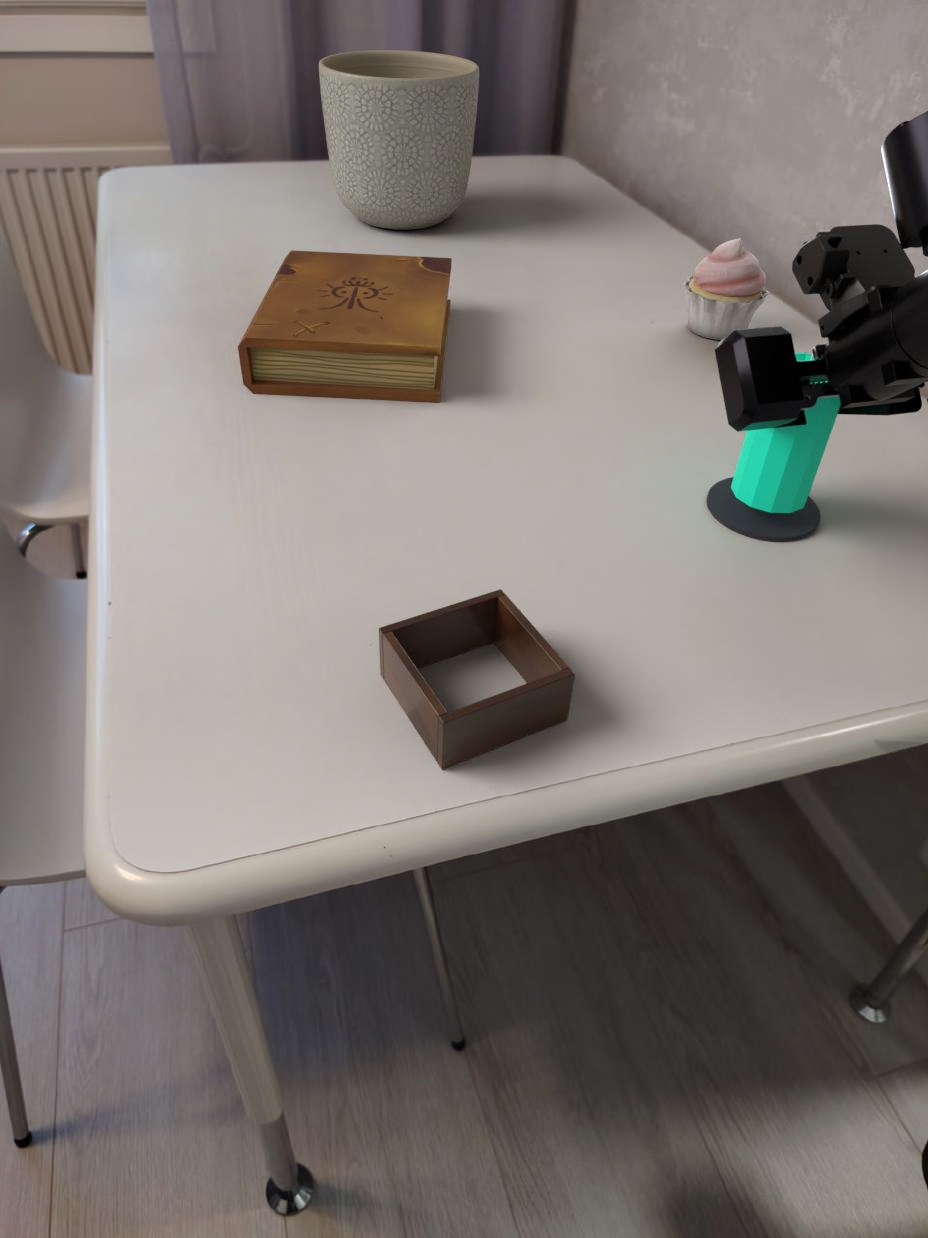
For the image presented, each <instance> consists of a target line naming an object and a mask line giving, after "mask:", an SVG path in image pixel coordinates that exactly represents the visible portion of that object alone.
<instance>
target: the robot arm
mask: <svg viewBox="0 0 928 1238" xmlns="http://www.w3.org/2000/svg"><path fill="white" fill-rule="evenodd" d="M880 150H881V156H882V161H883V165H884V166H883V167H884V171H885V176H886V181H887V185H888V191H889V196H890V200H891V205H892V210H893V215H894V216H893V217H894V220H895V225H896V230H897V235H898V237H897V236H896V233H895V232H894V231H893V230H892V229H891V228H889V227H888V226H886V225H884V224H879V223H878V224H877V223H875V224H873V223H872V224H856V225H840V226H839V225H838V226H834V227H832V228H830V230H829V231H818V232H817V233H816V234H815V236H814V238H812V239H810V240H807V241H804V242H803V243H802V245H801V247H800V248H799V251H798V252H797V253H796V255H795V257H794V258H793V260H792V264H791V272H792V274H793V276H794V277H795V280H796V281H797V284H798V285H799V287H800V290H801V292H802V293H803V294H804V295H819V298H820V299H821V301H822V302H823V305H824V307H825V308H826V309H827V311H829V312H827V313H826V314H824V315H823V316H821V317H820V318H818V319H817V323H818V328H819V334H820V337H821V338H822V339H827V340H828V343H822V344H816V345H814V347H812V349H811V351H812V354H813V357H814V359H815V360H812V361H797V359H796V356H795V353H796V351H795V347H794V342H793V336H792V333H791V332H790V331H788V330H787V329H786V328H784V327H783V326H782V325H776V326H775V325H774V326H763V327H762V326H761V327H753V328H747V329H738V330H734V331H733V332H731V333H730V334H729V335H728V336H726V337H725V338H724V339H723V340H719V343H718V344H717V346H716V347H715V349H714V353H715V354H714V355H715V360H716V365H717V370H718V376H719V381H720V386H721V387H720V388H721V392H722V398H723V403H724V407H725V408H724V409H725V413H726V418H727V424H728V425H729V426H730V428H732V429H734V430H735V431H736V432H737V433H738V432H739V433H740V432H747V431H749V430H758V429H766V428H781V427H790V426H799V425H806V424H807V422H806V417H805V412H804V410H808V409H811V408H812V407H814V406H815V404H816V402H817V399H818V398H827V397H836V396H839V398H840V403H841V406H840V408H839V411H838V414H837V415H850V416H885V417H886V416H887V417H888V416H893V415H895V416H896V415H904V414H912V413H917V412H919V411H921V409H922V406H923V401H922V395H921V389H922V388H925V386H926V384H925V383H928V269H927V270H925V271H923V272H922V273H921V274H919V275H917V276H915V274H916V269H915V267H914V265H913V263H912V261H911V260H910V258H909V256H908V255H907V252H906V251H905V250H907V249H910V248H912V249H914V248H915V249H919V248H921V252H922V255H923V256H924V257H926V258H928V110H927V111H924V112H923V113H921V114H919V115H917V116H915V117H914V118H912V119H911V120H905V121H902V122H901V123H899V124H898V125H897V126H895V127H894V128H893V129H892V130H891V131H890V132H889V133H888V134H887V136H886V137H885V138H884V140H883V142H882V144H881V149H880ZM825 381H828V382H825ZM815 382H818V383H816V384H815ZM820 382H822V383H820ZM811 383H812V384H811ZM926 402H927V403H928V398H927V399H926Z"/></svg>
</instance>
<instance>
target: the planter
mask: <svg viewBox="0 0 928 1238" xmlns="http://www.w3.org/2000/svg"><path fill="white" fill-rule="evenodd" d="M318 75H319V76H318V77H319V78H318V79H319V88H320V98H321V99H320V101H321V107H322V117H323V123H324V124H323V125H324V131H325V139H326V147H327V148H326V149H327V153H328V161H329V168H330V172H331V176H332V181H333V186H334V189H335V192H336V195H337V196H338V199H339V200H340V202H341V203H342V205H343V206H344V207H345V208H346V209H347V210H348V211H349V212H350V213H351V214H352V216H354V217H356V218H357V219H358V220H360V221H361V222H363V223H365V224H368V225H369V226H373V227H376V228H381V229H389V230H407V231H408V230H419V229H425V228H430V227H433V226H436V225H438V224H440V223H442V222H444V221H445V220H447V219H448V218H449V217H450V216H451V215H452V214H454V213H455V211H456V210H457V209H458V208H459V207H460V205H461V204H462V202H463V200H464V197H465V195H466V193H467V190H468V186H469V179H470V174H471V169H472V160H473V151H474V143H475V142H474V141H475V133H476V126H477V125H476V123H477V114H478V103H479V102H478V101H479V88H480V87H479V86H480V66H479V65H478V64H477V63H476V62H474V61H472V60H470V59H466V58H463V57H460V56H455V55H450V54H446V53H445V54H444V53H438V52H429V51H419V50H402V49H401V50H400V49H399V50H398V49H372V50H356V51H355V50H354V51H346V52H339V53H334V54H331V55H328V56H325V57H323V58H321V59H320V60H319V61H318ZM444 219H445V220H444Z"/></svg>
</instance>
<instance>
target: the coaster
mask: <svg viewBox="0 0 928 1238" xmlns="http://www.w3.org/2000/svg"><path fill="white" fill-rule="evenodd" d="M733 478H734V476H731V477H725V478H724V479H721V480H719V481H717V482H716V483H714V484H713V485H712V486H711V487H710V489H709V490H708V492H707V495H706V506H707V509H708V511H709V513H710V514H711V515H712V517H713V518H714V519H715V520H716V521H718V522H719V523H720V524H721V525H723V526H724V527H725V528H727V529H729V530H731V531H733V532H735V533H738V534H740V535H743V536H745V537H748V538H752V539H755V540H756V539H757V540H759V541H766V542H793V541H797V540H800V539H804V538H806V537H808V536H810V535H812V534H813V533H814V532H815V531H816V530H817V528H818V527H819V524H820V521H821V512H820V509H819V506H818V505H817V503H816V502H815V501H814V500H813V499H812V498H811V496H809V495H808V498H807V501H806V503H805V505H804V508H802V509H800V510H797V511H794V512H792V513H770V512H766V511H763V510H759V509H756V508H753V507H750V506H748V505H747V504H745V503H744V502H742V501H741V500H739V499H738V498H736V496H735V494H734V492H733V491H732V489H731V485H732V481H733Z"/></svg>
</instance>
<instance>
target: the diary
mask: <svg viewBox="0 0 928 1238" xmlns="http://www.w3.org/2000/svg"><path fill="white" fill-rule="evenodd" d="M452 260H453V259H452V257H439V256H438V257H437V256H436V257H434V256H416V255H397V254H396V255H394V254H393V255H392V254H374V253H373V254H371V253H353V252H333V251H313V250H311V251H310V250H293V249H292V250H290V251H289V253H288V254H287V255H286V256H285V257H284V259H283V260H282V262H281V264H280V266H279V267H278V270H277V272H276V274H275V276H274V278H273V279H272V281H271V283H270V285H269V287H268V289H267V291H266V292H265V295H264V296H263V298H262V301H261V302H260V304H259V306H258V308H257V310H256V311H255V314H254V315H253V317H252V319H251V321H250V323H249V325H248V327H247V328H246V330H245V332H244V334H243V336H242V338H241V339H240V341H239V343H238V345H237V351H238V358H239V364H240V372H241V378H242V385H243V386H245V387H246V389H248V390H249V391H250V392H251V393H252V394H258V395H275V396H276V395H279V396H298V397H300V396H301V397H317V398H319V397H320V398H338V399H339V398H340V399H359V400H360V399H361V400H378V401H379V400H380V401H381V400H382V401H398V402H399V401H400V402H418V403H419V402H421V403H440V402H441V401H440V400H441V393H442V392H441V391H442V383H443V376H444V375H443V374H444V365H445V357H446V349H447V340H448V332H449V331H448V330H449V325H450V324H449V323H450V314H451V303H452V302H451V301H452V300H451V299H448V297H449V290H450V282H451V273H452V263H453V261H452Z"/></svg>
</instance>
